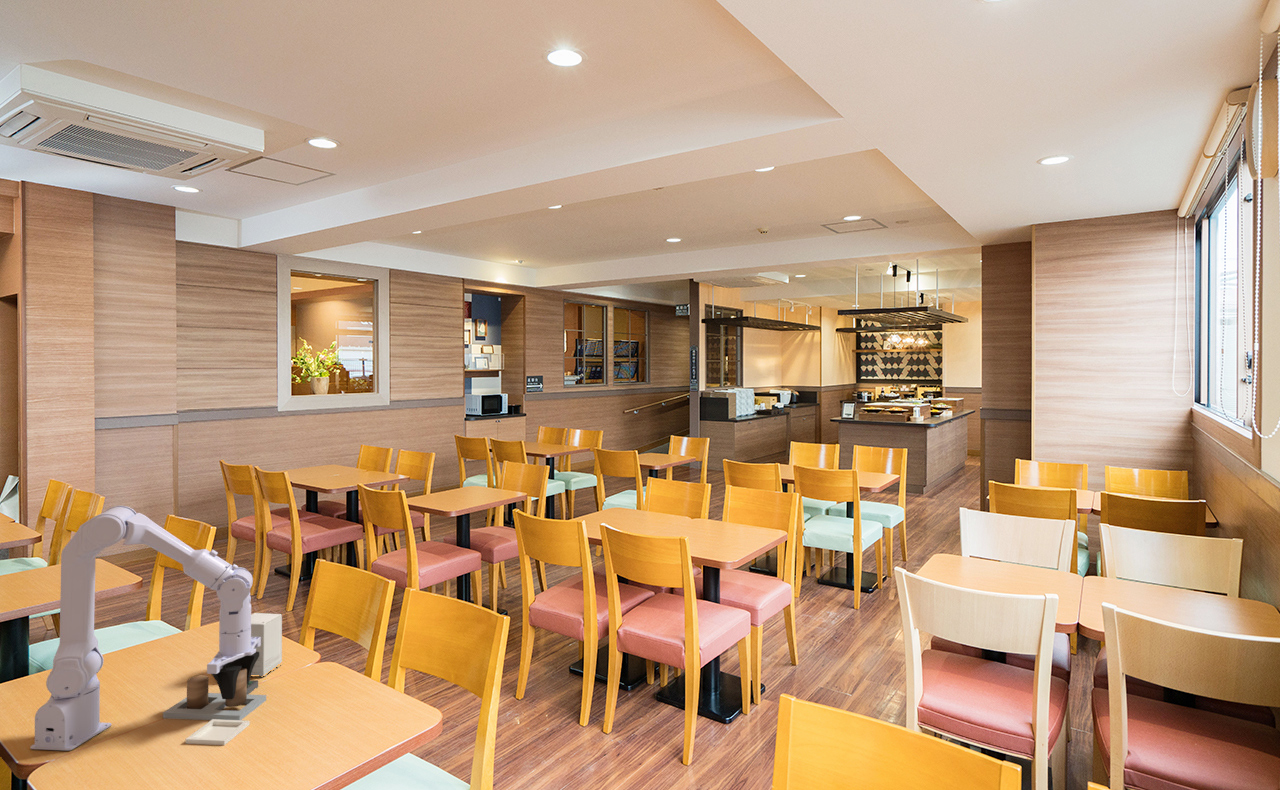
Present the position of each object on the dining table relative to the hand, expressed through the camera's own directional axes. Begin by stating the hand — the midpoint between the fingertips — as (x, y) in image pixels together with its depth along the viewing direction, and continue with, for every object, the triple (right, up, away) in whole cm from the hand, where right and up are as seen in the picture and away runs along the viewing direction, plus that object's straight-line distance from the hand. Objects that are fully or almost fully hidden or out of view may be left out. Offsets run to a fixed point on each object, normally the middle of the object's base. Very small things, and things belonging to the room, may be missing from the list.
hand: (234, 693), depth 141 cm
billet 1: (-8, -4, 0) cm, 9 cm away
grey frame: (-4, -4, 0) cm, 6 cm away
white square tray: (+3, -4, -10) cm, 11 cm away
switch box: (-4, -4, +8) cm, 10 cm away
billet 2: (0, -2, 0) cm, 2 cm away
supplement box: (-6, -4, +20) cm, 21 cm away
